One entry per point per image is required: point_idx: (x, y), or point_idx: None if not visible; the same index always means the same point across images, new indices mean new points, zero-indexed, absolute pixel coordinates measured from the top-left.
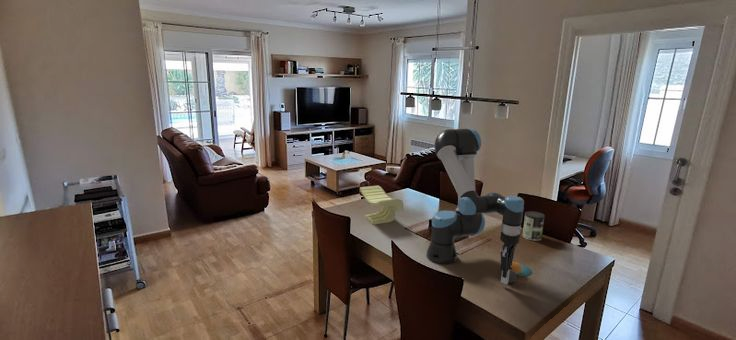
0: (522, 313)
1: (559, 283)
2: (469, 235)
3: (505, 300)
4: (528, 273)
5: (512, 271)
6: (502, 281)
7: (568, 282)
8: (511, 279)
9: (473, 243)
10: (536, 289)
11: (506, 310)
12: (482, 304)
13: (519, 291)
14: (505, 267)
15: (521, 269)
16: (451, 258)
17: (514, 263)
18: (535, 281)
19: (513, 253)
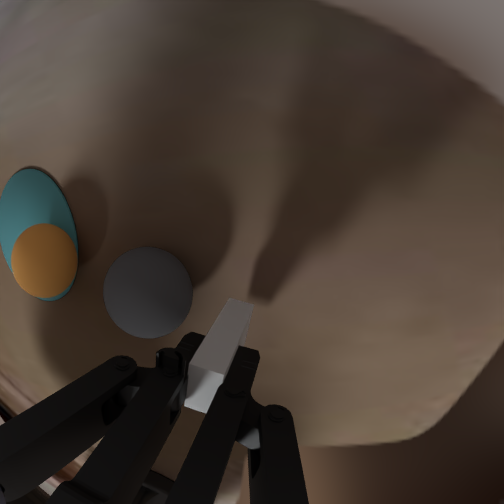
0: (500, 186)
1: (64, 28)
2: (38, 493)
3: (409, 287)
4: (37, 181)
5: (122, 299)
6: (245, 339)
7: (49, 7)
8: (185, 283)
9: (8, 389)
10: (169, 104)
11: (497, 273)
12: (467, 380)
13: (254, 206)
14: (295, 460)
15: (40, 226)
16: (164, 495)
17: (28, 281)
18: (85, 129)
19: (28, 437)
